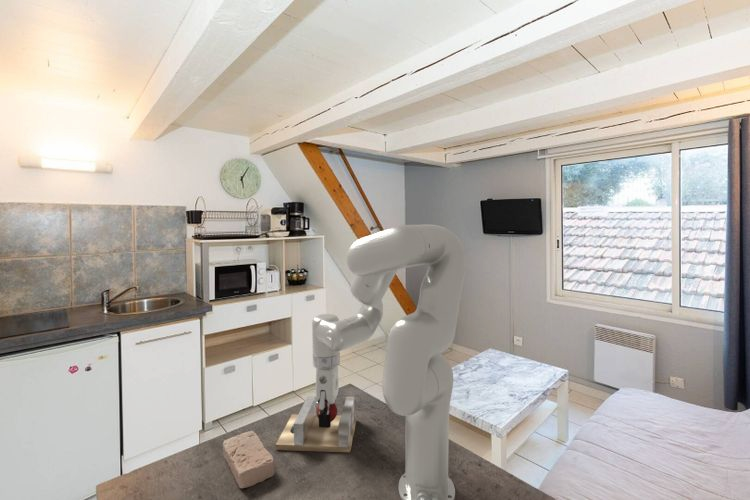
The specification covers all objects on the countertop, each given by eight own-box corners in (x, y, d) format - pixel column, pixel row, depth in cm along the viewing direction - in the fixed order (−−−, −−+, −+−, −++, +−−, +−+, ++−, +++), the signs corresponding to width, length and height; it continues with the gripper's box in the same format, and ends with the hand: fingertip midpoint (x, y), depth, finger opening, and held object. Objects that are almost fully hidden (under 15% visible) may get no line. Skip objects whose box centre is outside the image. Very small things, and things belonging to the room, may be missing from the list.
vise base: (350, 452, 93) (349, 425, 92) (275, 449, 94) (275, 423, 94) (356, 420, 108) (356, 397, 107) (292, 418, 109) (291, 395, 109)
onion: (341, 421, 102) (341, 395, 101) (328, 431, 97) (328, 403, 96) (325, 415, 105) (325, 390, 104) (312, 425, 100) (312, 398, 99)
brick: (221, 455, 93) (221, 438, 92) (253, 443, 98) (253, 427, 97) (240, 494, 79) (239, 474, 79) (276, 478, 84) (275, 459, 84)
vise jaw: (303, 445, 94) (302, 423, 93) (288, 444, 94) (288, 423, 93) (316, 414, 109) (315, 396, 108) (303, 414, 109) (303, 395, 108)
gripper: (334, 372, 90) (334, 439, 92) (344, 348, 107) (344, 404, 109) (305, 371, 91) (306, 438, 92) (319, 347, 108) (320, 404, 109)
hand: (327, 419), depth 101 cm, fingers closed on onion, 5 cm apart
